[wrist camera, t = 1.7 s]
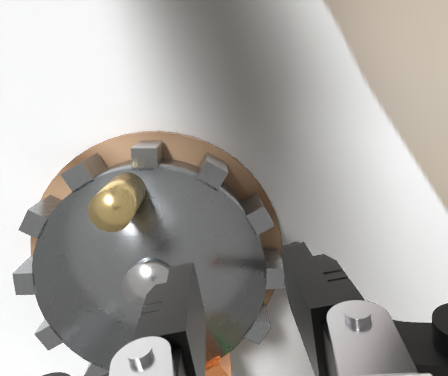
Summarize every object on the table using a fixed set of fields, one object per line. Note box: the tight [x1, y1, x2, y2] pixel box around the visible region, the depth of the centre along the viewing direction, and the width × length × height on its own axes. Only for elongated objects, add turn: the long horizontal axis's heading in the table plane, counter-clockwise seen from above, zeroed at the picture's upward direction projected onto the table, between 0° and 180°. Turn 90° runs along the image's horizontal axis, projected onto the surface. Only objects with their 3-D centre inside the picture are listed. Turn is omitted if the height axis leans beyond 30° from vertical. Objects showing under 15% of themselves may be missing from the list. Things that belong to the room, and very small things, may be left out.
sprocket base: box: [31, 131, 299, 307], centre depth 29 cm, size 22×25×11 cm
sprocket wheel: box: [13, 140, 285, 376], centre depth 29 cm, size 21×21×9 cm
